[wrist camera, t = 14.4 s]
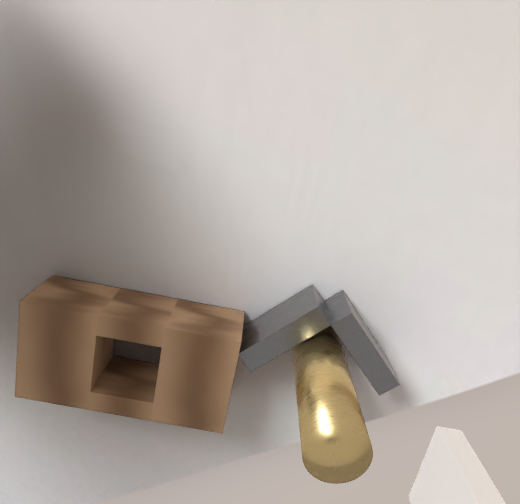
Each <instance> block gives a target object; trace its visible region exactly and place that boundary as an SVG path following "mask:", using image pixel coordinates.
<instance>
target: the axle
mask: <svg viewBox="0 0 520 504" xmlns="http://www.w3.org/2000/svg"><path fill="white" fill-rule="evenodd" d="M292 352H293V362H294V373H295V384H296V395H297V405H298V416H299V427H300V437H301V448H302V458H303V463H304V465H305V467H306V469H307V470H308V472H309V473H310V474H311V475H312V476H314V477H315V478H317V479H319V480H321V481H324V482H327V483H346V482H349V481H352V480H354V479H356V478H358V477H360V476H361V475H362V474H363V473H364V472H365V471H366V470H367V469H368V467H369V466H370V463H371V461H372V457H373V450H372V446H371V442H370V439H369V436H368V432H367V429H366V426H365V422H364V419H363V416H362V412H361V409H360V406H359V402H358V399H357V395H356V392H355V389H354V385H353V382H352V379H351V375H350V372H349V369H348V365H347V362H346V359H345V355H344V352H343V349H342V345H341V342H340V339H339V336H338V335H337V333H336V332H335V330H334V329H333V327H332V326H331V325H330V326H328V327H327V328H325V329H323V330H322V331H320V332H318V333H317V334H315V335H313V336H311V337H310V338H308V339H306V340H305V341H303V342H301V343H299V344H298V345H296V346H294V347H293V348H292Z"/></svg>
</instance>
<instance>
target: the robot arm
mask: <svg viewBox="0 0 520 504" xmlns="http://www.w3.org/2000/svg"><path fill="white" fill-rule="evenodd" d="M408 498H409V501H410V503H411V504H505V502H504V500H503V499H502V497H501V495H500V494H499V492H498V490H497V489H496V487H495V485H494V484H493V482H492V480H491V479H490V477H489V476H488V474H487V472H486V471H485V469H484V467H483V466H482V464H481V462H480V461H479V459H478V457H477V456H476V454H475V452H474V451H473V449H472V448H471V446H470V444H469V443H468V441H467V439H466V438H465V436H464V434H463V433H462V431H461V430H456V429H450V428H445V427H440V426H437V427H436V429H435V432H434V434H433V437H432V440H431V442H430V444H429V447H428V449H427V452H426V454H425V457H424V459H423V462H422V464H421V467H420V469H419V472H418V474H417V477H416V479H415V481H414V484H413V486H412V489H411V491H410V494H409V496H408Z"/></svg>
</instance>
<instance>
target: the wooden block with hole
mask: <svg viewBox="0 0 520 504" xmlns="http://www.w3.org/2000/svg"><path fill="white" fill-rule="evenodd" d="M244 314H245V312H244V311H239V310H234V309H228V308H223V307H218V306H212V305H207V304H202V303H196V302H191V301H186V300H180V299H175V298H170V297H164V296H159V295H154V294H148V293H143V292H138V291H132V290H127V289H122V288H116V287H111V286H106V285H100V284H95V283H90V282H84V281H79V280H74V279H68V278H63V277H58V276H51V277H50V278H49V279H47V280H46V281H45V282H43V283H42V284H41V285H40V286H38V287H37V288H36V289H35V290H33V291H32V292H31V293H30V294H28V295H27V296H26V297H24V298H23V299H22V300H21V301H20V305H19V325H18V346H17V366H16V386H15V397H19V398H25V399H31V400H36V401H42V402H48V403H53V404H59V405H64V406H70V407H76V408H81V409H87V410H93V411H98V412H104V413H110V414H115V415H121V416H127V417H132V418H138V419H144V420H149V421H155V422H161V423H166V424H172V425H178V426H183V427H189V428H195V429H200V430H206V431H212V432H217V433H223V428H224V424H225V419H226V414H227V409H228V404H229V399H230V394H231V390H232V385H233V380H234V375H235V370H236V365H237V360H238V356H239V351H240V346H241V340H242V331H243V323H244ZM114 339H117V340H123V341H128V342H134V343H139V344H145V345H150V346H156V347H161V348H162V349H161V356H160V362H159V365H158V364H153V363H147V362H142V361H136V360H131V359H125V358H120V357H114V356H113V348H114Z"/></svg>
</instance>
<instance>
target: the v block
mask: <svg viewBox="0 0 520 504" xmlns="http://www.w3.org/2000/svg"><path fill="white" fill-rule="evenodd" d="M324 302H325V303H324ZM330 325H331V326H332V327H333V329H334V330H335V332H336V333H337V335H338V336H339V338H340V339H341V341H342V342H343V343H344V345H345V346H346V348H347V349H348V351H349V352H350V354H351V355H352V357H353V358H354V359H355V361H356V362H357V364H358V365H359V367H360V368H361V370H362V371H363V373H364V374H365V375H366V377H367V378H368V380H369V381H370V383H371V384H372V386H373V387H374V389H375V390H376V391H377V393H378V394H379V395H381V394H383V393H385V392H387V391H388V390H390V389H392V388H394V387H396V386H398V385H400V384H399V382H398V380H397V378H396V376H395V373H394V371H393V369H392V367H391V365H390V363H389V361H388V358H387V356H386V354H385V353H384V351H383V350H382V348H381V347H380V345H379V344H378V342H377V341H376V339H375V338H374V336H373V335H372V333H371V332H370V330H369V329H368V327H367V326H366V324H365V323H364V321H363V320H362V318H361V317H360V315H359V314H358V312H357V311H356V309H355V308H354V306H353V305H352V303H351V302H350V300H349V299H348V297H347V296H346V294H345V293H344V291H343V290H342V291H340V292H339V293H337V294H335V295H334V296H332V297H330V298H329V299H327V300H325V301H324V300H323V299H322V297H321V296H320V295H319V293H318V292H317V290H316V289H315V287H314V286H313V284H312V285H311V286H309V287H307V288H306V289H304V290H302V291H301V292H299V293H298V294H296V295H294V296H293V297H291V298H289V299H288V300H286V301H284V302H283V303H281V304H279V305H278V306H276V307H274V308H273V309H271V310H270V311H268V312H266V313H265V314H263V315H261V316H260V317H258V318H256V319H255V320H253V321H251V322H250V323H248V324H246V325H245V326H243V331H242V340H241V346H240V351H239V357H240V359H241V360H242V361H243V363H244V364H245V365H246V367H247V368H248V369H249V371H250V372H251V371H253V370H255V369H257V368H258V367H260V366H262V365H263V364H265V363H267V362H269V361H270V360H272V359H274V358H275V357H277V356H279V355H281V354H282V353H284V352H286V351H287V350H289V349H291V348H293V347H294V346H296V345H298V344H299V343H301V342H303V341H305V340H306V339H308V338H310V337H311V336H313V335H315V334H317V333H318V332H320V331H322V330H323V329H325V328H327V327H328V326H330Z"/></svg>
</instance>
